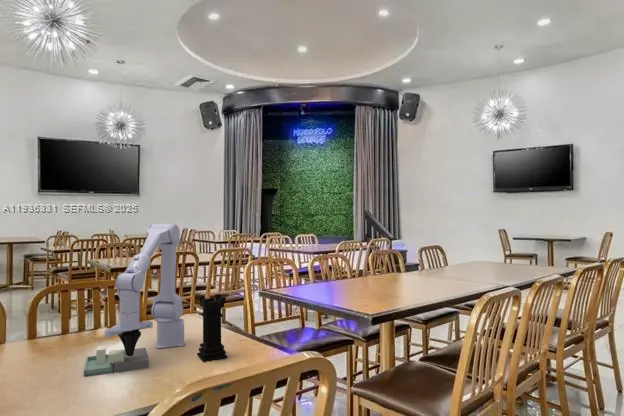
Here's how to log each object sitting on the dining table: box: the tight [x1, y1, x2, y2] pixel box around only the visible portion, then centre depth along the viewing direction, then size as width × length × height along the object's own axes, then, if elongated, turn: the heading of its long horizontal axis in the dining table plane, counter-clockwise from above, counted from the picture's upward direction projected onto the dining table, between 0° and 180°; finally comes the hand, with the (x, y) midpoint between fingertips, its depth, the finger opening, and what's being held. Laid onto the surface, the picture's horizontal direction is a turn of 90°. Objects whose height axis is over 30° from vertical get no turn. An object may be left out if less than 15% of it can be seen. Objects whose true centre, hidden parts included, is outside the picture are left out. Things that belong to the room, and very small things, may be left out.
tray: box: [83, 353, 114, 377], centre depth 142 cm, size 8×14×2 cm, turn 24°
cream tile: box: [95, 345, 107, 365], centre depth 145 cm, size 4×4×2 cm
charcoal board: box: [113, 347, 150, 374], centre depth 145 cm, size 10×14×2 cm
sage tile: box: [107, 348, 125, 363], centre depth 141 cm, size 4×4×2 cm
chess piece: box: [196, 293, 228, 363], centre depth 152 cm, size 8×8×20 cm
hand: (129, 355), depth 142 cm, fingers closed
